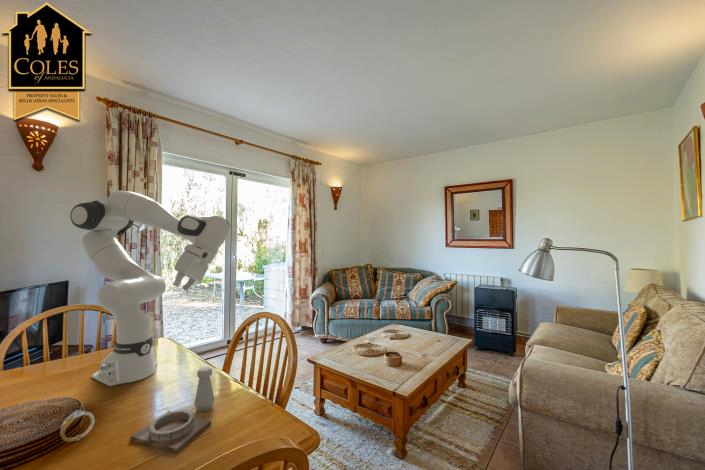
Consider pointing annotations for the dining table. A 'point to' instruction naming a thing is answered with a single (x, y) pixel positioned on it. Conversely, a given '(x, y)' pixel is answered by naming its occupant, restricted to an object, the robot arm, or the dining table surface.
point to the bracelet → (72, 416)
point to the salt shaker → (204, 390)
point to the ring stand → (171, 431)
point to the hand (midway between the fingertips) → (180, 288)
